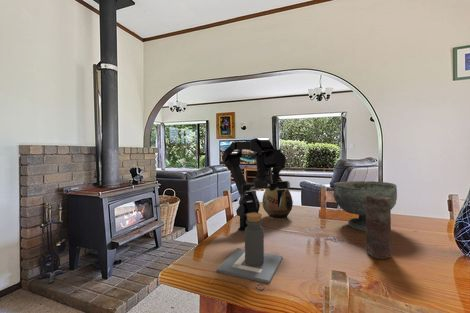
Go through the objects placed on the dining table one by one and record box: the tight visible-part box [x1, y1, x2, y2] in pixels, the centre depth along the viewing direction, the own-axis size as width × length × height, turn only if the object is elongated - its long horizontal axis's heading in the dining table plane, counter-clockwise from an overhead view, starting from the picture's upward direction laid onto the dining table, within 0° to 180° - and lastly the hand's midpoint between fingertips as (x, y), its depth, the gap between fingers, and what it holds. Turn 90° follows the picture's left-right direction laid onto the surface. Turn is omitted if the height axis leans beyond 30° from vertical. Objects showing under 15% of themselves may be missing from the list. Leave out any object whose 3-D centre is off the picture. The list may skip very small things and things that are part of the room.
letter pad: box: [216, 248, 284, 284], centre depth 75 cm, size 16×16×1 cm
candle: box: [365, 195, 392, 260], centre depth 81 cm, size 8×7×20 cm
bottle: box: [244, 212, 265, 266], centre depth 75 cm, size 6×6×15 cm
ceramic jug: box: [262, 164, 294, 221], centre depth 124 cm, size 17×15×30 cm
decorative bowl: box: [333, 180, 398, 232], centre depth 110 cm, size 26×26×20 cm
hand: (267, 207), depth 96 cm, fingers open, 9 cm apart
